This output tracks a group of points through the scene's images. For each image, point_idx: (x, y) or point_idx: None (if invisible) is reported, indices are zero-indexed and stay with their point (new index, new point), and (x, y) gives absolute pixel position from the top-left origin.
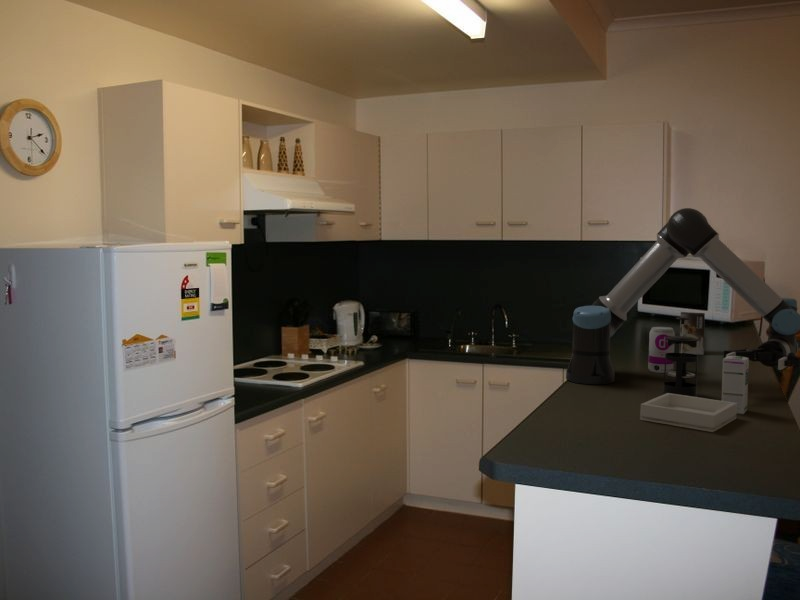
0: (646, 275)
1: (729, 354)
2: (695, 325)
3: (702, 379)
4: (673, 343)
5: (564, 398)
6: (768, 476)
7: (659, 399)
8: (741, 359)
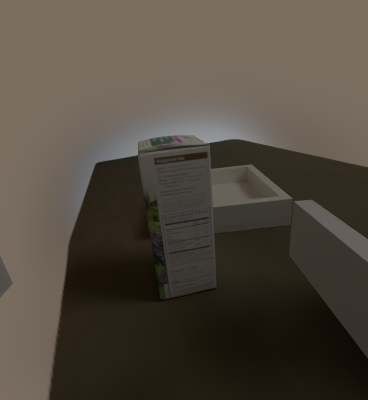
0: None
1: (310, 212)
2: None
3: None
4: None
5: None
6: (107, 169)
7: (261, 180)
8: (148, 139)
